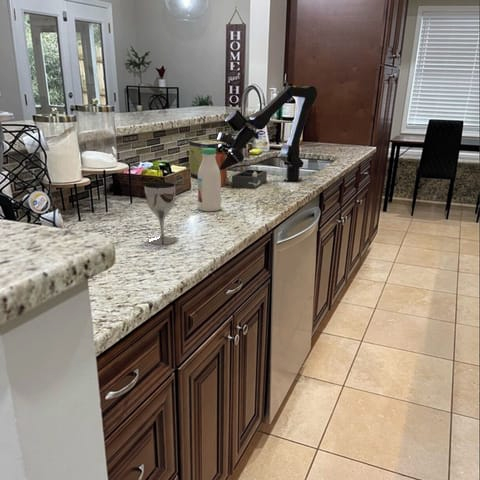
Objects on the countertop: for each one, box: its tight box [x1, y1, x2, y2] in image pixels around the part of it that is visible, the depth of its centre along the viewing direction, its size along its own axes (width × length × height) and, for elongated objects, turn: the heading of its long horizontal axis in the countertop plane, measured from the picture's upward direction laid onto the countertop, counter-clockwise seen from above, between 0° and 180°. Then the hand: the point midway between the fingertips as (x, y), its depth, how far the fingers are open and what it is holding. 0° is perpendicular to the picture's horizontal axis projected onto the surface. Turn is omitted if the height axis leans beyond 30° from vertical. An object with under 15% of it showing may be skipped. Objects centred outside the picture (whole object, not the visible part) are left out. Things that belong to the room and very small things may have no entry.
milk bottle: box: [197, 148, 222, 212], centre depth 168 cm, size 8×8×20 cm
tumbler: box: [215, 152, 228, 187], centre depth 210 cm, size 6×6×13 cm
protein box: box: [188, 139, 226, 179], centre depth 225 cm, size 10×16×16 cm
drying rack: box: [231, 169, 268, 190], centre depth 214 cm, size 9×18×5 cm, turn 160°
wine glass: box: [144, 182, 177, 245], centre depth 134 cm, size 8×8×15 cm
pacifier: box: [248, 172, 260, 188], centre depth 208 cm, size 7×6×6 cm
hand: (216, 167), depth 209 cm, fingers open, 9 cm apart
